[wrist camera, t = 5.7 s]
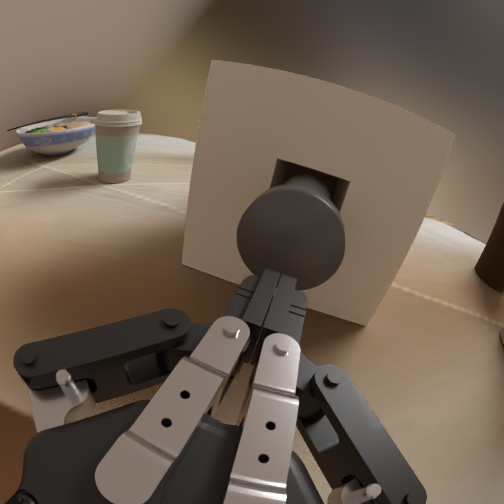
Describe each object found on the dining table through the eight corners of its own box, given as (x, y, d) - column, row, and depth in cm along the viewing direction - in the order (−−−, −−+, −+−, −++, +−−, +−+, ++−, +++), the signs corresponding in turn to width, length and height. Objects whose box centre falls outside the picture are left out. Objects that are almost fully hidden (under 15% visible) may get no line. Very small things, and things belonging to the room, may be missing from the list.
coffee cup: (127, 188, 42) (133, 116, 36) (83, 183, 41) (85, 114, 35) (143, 173, 50) (150, 110, 43) (104, 168, 48) (107, 108, 42)
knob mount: (361, 266, 37) (415, 124, 26) (365, 326, 27) (455, 134, 16) (222, 220, 39) (252, 74, 29) (181, 264, 29) (211, 59, 19)
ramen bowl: (28, 175, 41) (27, 135, 36) (4, 157, 48) (3, 126, 43) (120, 150, 61) (122, 117, 56) (77, 137, 68) (78, 111, 63)
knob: (328, 241, 25) (352, 175, 22) (323, 303, 18) (361, 213, 14) (261, 219, 26) (278, 152, 23) (228, 271, 18) (248, 176, 15)
